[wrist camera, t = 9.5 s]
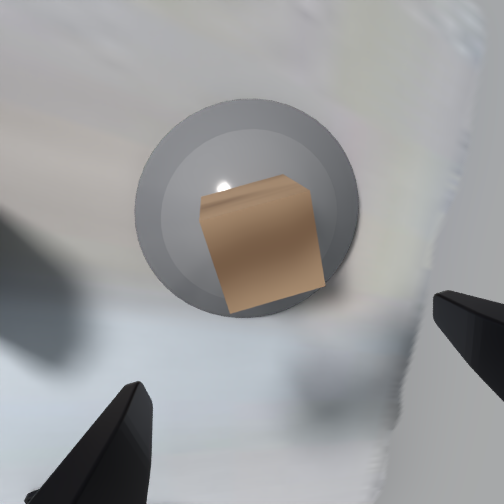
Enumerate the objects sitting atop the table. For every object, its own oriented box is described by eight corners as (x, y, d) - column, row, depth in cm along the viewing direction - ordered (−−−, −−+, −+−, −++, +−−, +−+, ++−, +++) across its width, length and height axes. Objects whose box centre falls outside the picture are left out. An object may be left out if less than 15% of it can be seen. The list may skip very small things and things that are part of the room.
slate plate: (359, 280, 23) (367, 287, 22) (181, 331, 22) (180, 341, 21) (339, 72, 17) (347, 69, 16) (98, 135, 16) (90, 136, 15)
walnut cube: (297, 249, 20) (325, 286, 15) (224, 269, 19) (229, 313, 15) (282, 174, 17) (309, 190, 13) (201, 196, 17) (199, 221, 13)
